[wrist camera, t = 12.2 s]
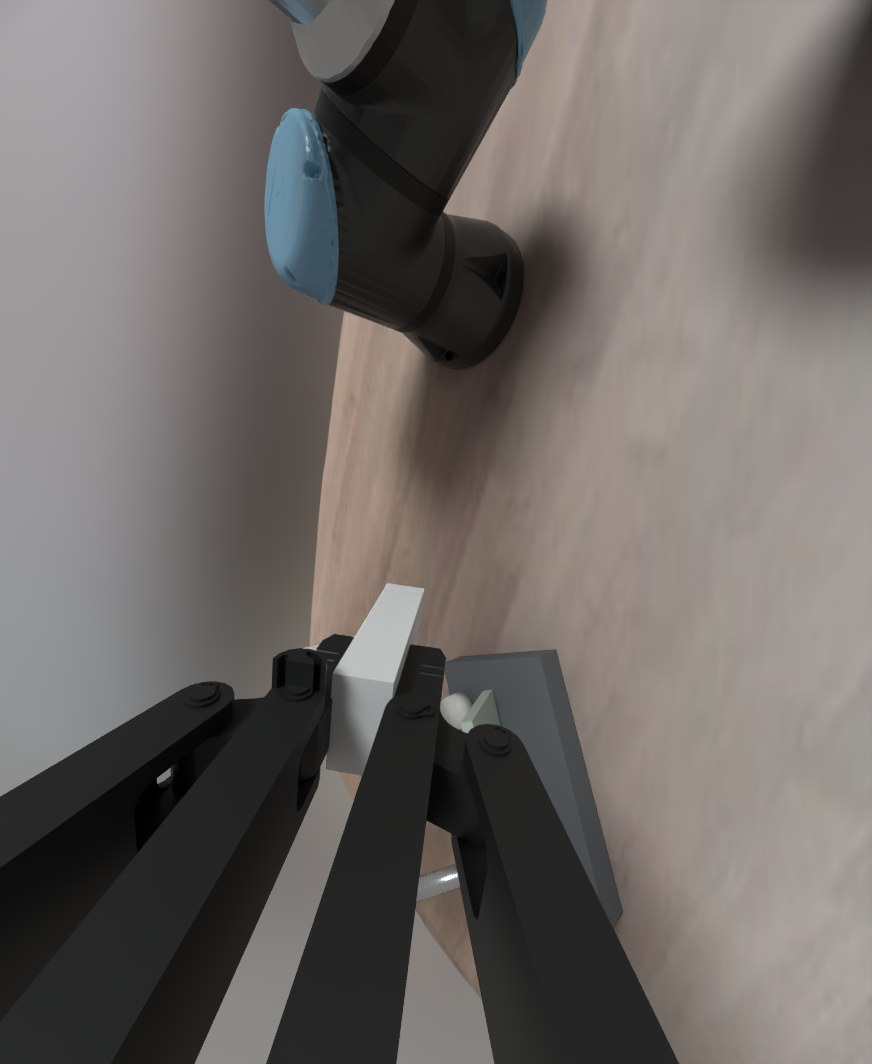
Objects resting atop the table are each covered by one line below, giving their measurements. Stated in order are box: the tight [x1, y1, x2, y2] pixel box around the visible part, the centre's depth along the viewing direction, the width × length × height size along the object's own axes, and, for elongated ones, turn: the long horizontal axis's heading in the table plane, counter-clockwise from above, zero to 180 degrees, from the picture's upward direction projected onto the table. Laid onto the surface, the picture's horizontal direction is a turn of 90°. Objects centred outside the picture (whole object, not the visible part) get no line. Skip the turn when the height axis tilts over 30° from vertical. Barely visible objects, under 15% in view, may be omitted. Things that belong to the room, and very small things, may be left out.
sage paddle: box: [461, 690, 500, 733], centre depth 38 cm, size 4×1×10 cm, turn 16°
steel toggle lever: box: [416, 864, 460, 902], centre depth 40 cm, size 3×3×14 cm
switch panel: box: [445, 650, 623, 928], centre depth 44 cm, size 24×14×3 cm, turn 16°
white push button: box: [440, 692, 473, 730], centre depth 46 cm, size 4×4×2 cm
